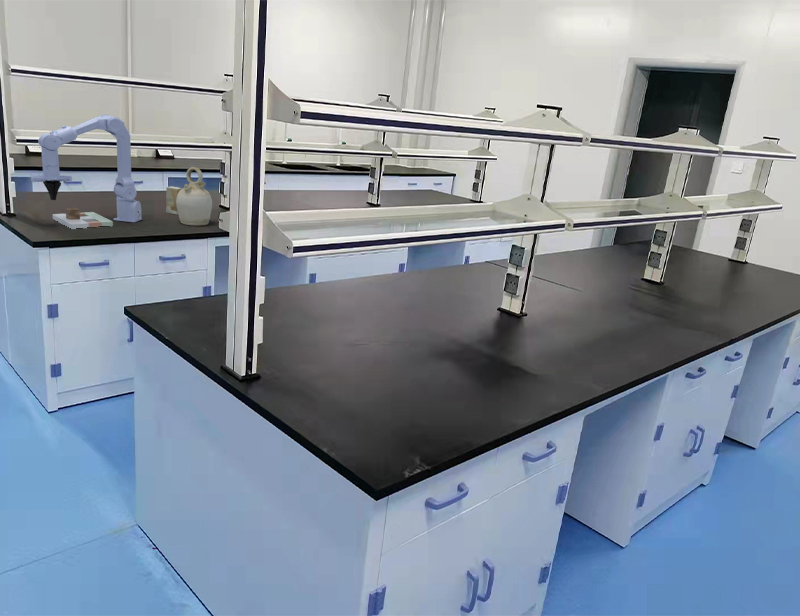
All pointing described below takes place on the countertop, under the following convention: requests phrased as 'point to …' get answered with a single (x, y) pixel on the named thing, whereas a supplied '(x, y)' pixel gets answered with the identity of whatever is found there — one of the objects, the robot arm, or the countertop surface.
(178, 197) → the jug
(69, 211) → the walnut block
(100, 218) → the trap board
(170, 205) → the skincare box
